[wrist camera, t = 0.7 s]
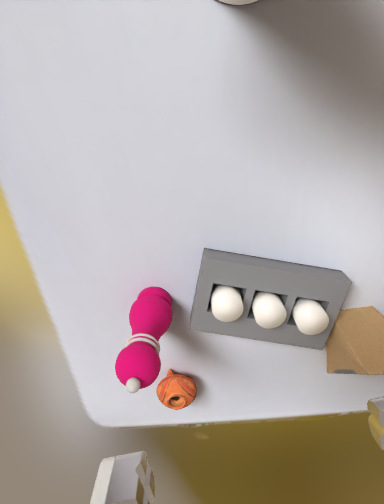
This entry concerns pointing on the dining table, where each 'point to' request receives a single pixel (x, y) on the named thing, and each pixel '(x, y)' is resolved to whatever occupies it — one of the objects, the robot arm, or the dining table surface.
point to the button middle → (268, 309)
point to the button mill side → (226, 303)
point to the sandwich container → (356, 342)
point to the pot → (176, 391)
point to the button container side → (309, 316)
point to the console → (268, 280)
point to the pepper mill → (144, 339)
